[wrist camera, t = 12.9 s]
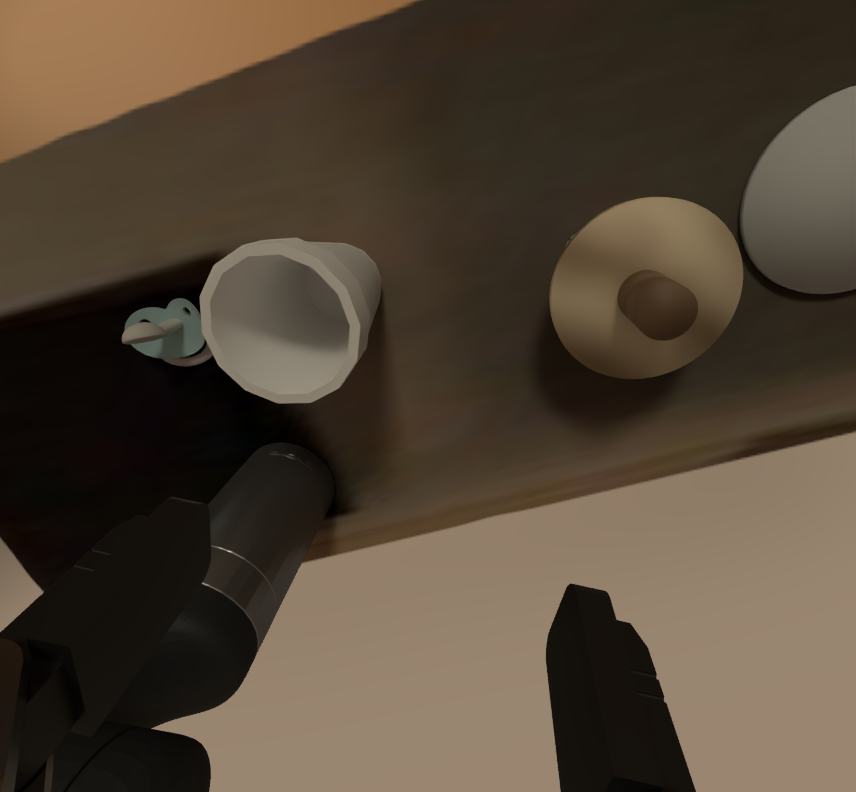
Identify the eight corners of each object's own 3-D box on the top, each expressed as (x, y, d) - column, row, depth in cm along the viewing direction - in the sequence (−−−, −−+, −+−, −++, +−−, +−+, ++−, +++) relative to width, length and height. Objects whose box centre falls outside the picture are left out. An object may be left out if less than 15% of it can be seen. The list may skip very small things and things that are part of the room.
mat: (863, 318, 35) (869, 320, 34) (701, 254, 35) (704, 255, 34) (1014, 126, 29) (1024, 125, 29) (823, 48, 29) (830, 45, 28)
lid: (671, 396, 34) (702, 433, 29) (521, 339, 34) (526, 366, 29) (775, 237, 29) (834, 249, 24) (600, 167, 29) (623, 165, 24)
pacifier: (234, 353, 43) (203, 289, 40) (197, 381, 37) (158, 309, 35) (167, 370, 44) (133, 310, 42) (121, 400, 39) (79, 332, 36)
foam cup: (269, 242, 38) (170, 269, 26) (376, 205, 36) (320, 218, 24) (315, 351, 41) (245, 419, 30) (415, 323, 39) (382, 385, 28)
